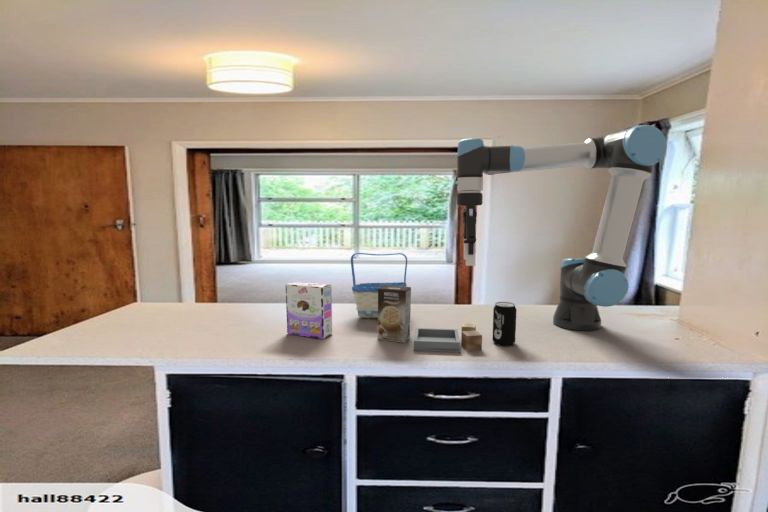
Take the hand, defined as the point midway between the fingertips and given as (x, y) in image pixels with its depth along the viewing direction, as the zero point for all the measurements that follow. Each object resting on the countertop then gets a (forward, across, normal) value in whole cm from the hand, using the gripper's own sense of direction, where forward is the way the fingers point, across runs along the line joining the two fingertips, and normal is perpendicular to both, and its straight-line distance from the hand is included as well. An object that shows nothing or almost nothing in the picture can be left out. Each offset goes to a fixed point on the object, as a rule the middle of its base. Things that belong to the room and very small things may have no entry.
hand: (469, 262), depth 135 cm
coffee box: (+23, +5, -23) cm, 33 cm away
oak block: (+24, 0, 0) cm, 24 cm away
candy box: (+23, +4, -50) cm, 55 cm away
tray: (+23, +8, -10) cm, 27 cm away
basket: (+23, -21, -31) cm, 45 cm away
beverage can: (+24, +5, +10) cm, 26 cm away
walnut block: (+24, +10, 0) cm, 26 cm away
